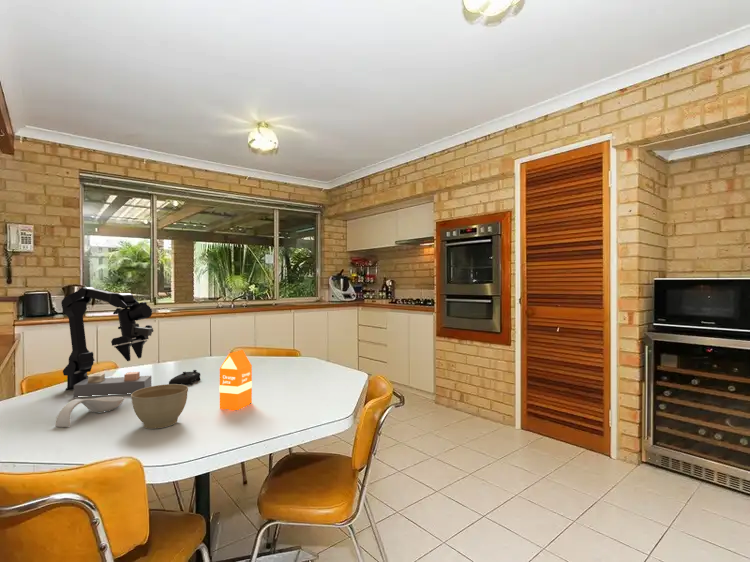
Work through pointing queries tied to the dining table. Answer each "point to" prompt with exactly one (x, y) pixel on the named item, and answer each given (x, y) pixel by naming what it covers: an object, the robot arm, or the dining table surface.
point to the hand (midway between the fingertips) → (134, 359)
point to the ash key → (96, 378)
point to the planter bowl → (159, 404)
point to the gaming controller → (185, 378)
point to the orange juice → (235, 381)
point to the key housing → (111, 386)
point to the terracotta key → (131, 376)
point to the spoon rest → (91, 404)
